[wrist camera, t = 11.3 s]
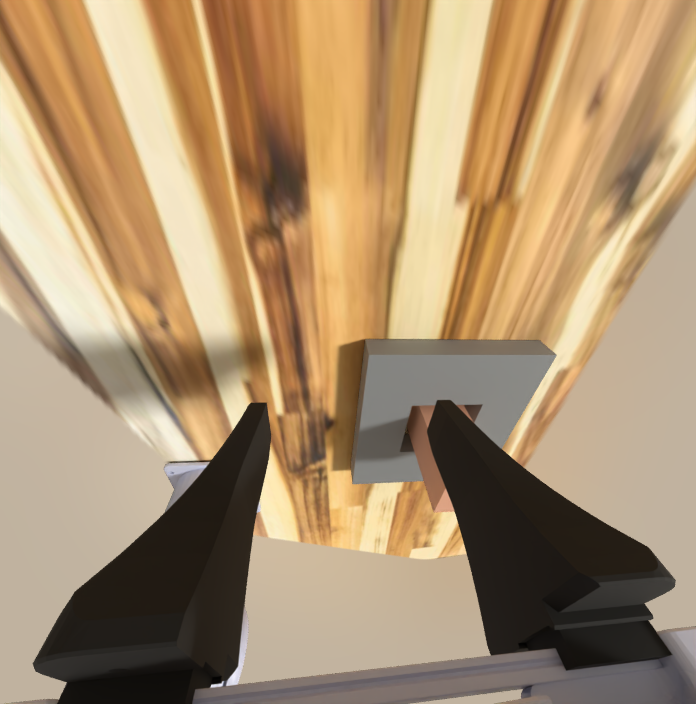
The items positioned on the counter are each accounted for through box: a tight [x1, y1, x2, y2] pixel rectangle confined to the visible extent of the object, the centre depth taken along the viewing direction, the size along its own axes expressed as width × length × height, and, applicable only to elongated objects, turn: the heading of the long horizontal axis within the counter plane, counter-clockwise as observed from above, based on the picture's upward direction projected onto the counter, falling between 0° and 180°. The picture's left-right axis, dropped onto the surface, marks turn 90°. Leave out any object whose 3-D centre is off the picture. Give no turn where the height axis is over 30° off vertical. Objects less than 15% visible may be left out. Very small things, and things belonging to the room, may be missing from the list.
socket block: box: [351, 339, 557, 484], centre depth 26 cm, size 16×14×2 cm
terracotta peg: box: [406, 405, 472, 512], centre depth 23 cm, size 4×4×8 cm
